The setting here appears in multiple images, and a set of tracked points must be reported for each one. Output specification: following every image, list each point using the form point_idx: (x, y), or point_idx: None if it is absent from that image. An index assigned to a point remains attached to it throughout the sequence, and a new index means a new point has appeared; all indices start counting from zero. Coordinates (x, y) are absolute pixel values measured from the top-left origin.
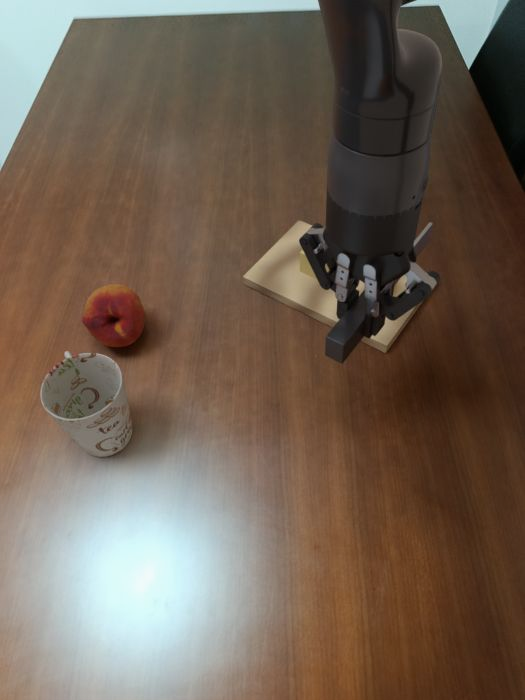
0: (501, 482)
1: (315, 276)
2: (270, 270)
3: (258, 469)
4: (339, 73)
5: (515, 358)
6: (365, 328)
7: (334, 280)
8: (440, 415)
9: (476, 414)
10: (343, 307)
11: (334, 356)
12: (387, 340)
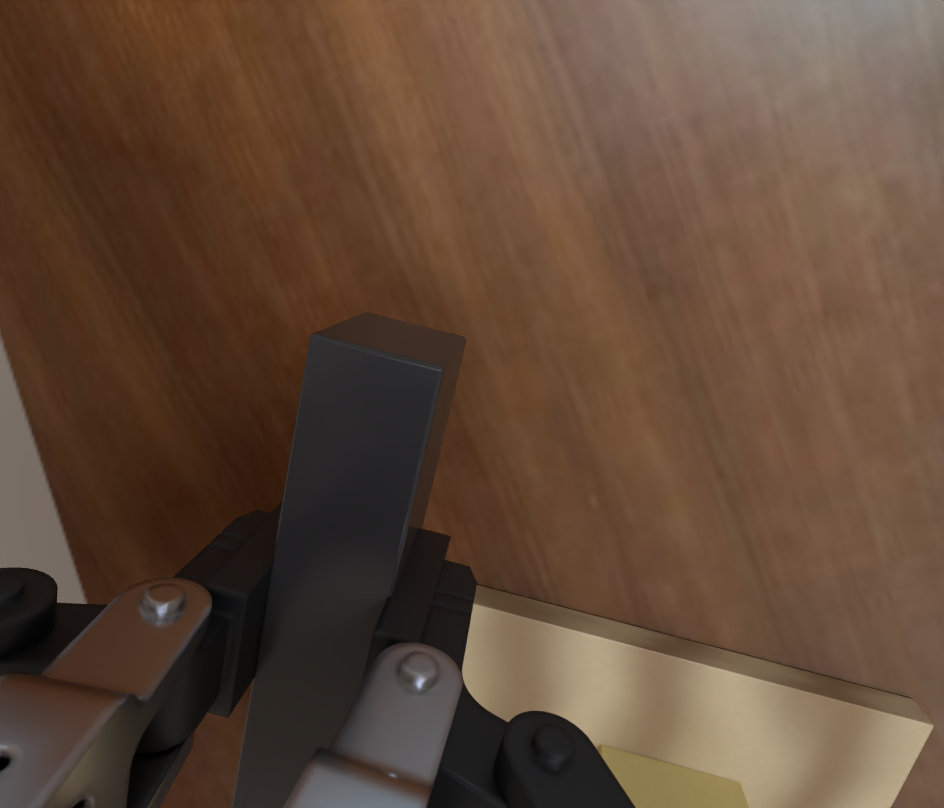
0: (20, 275)
1: (682, 774)
2: (841, 767)
3: (637, 38)
4: None
5: None
6: None
7: (481, 805)
8: (210, 417)
9: (133, 449)
10: (410, 613)
11: (403, 326)
12: None
